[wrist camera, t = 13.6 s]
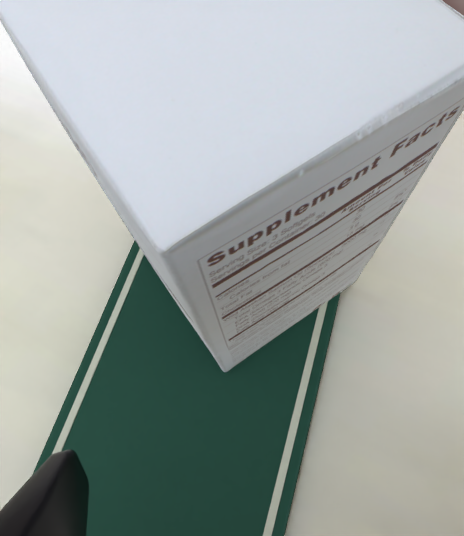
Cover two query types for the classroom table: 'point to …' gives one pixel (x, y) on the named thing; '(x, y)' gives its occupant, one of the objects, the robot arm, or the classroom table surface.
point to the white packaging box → (249, 137)
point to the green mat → (187, 419)
